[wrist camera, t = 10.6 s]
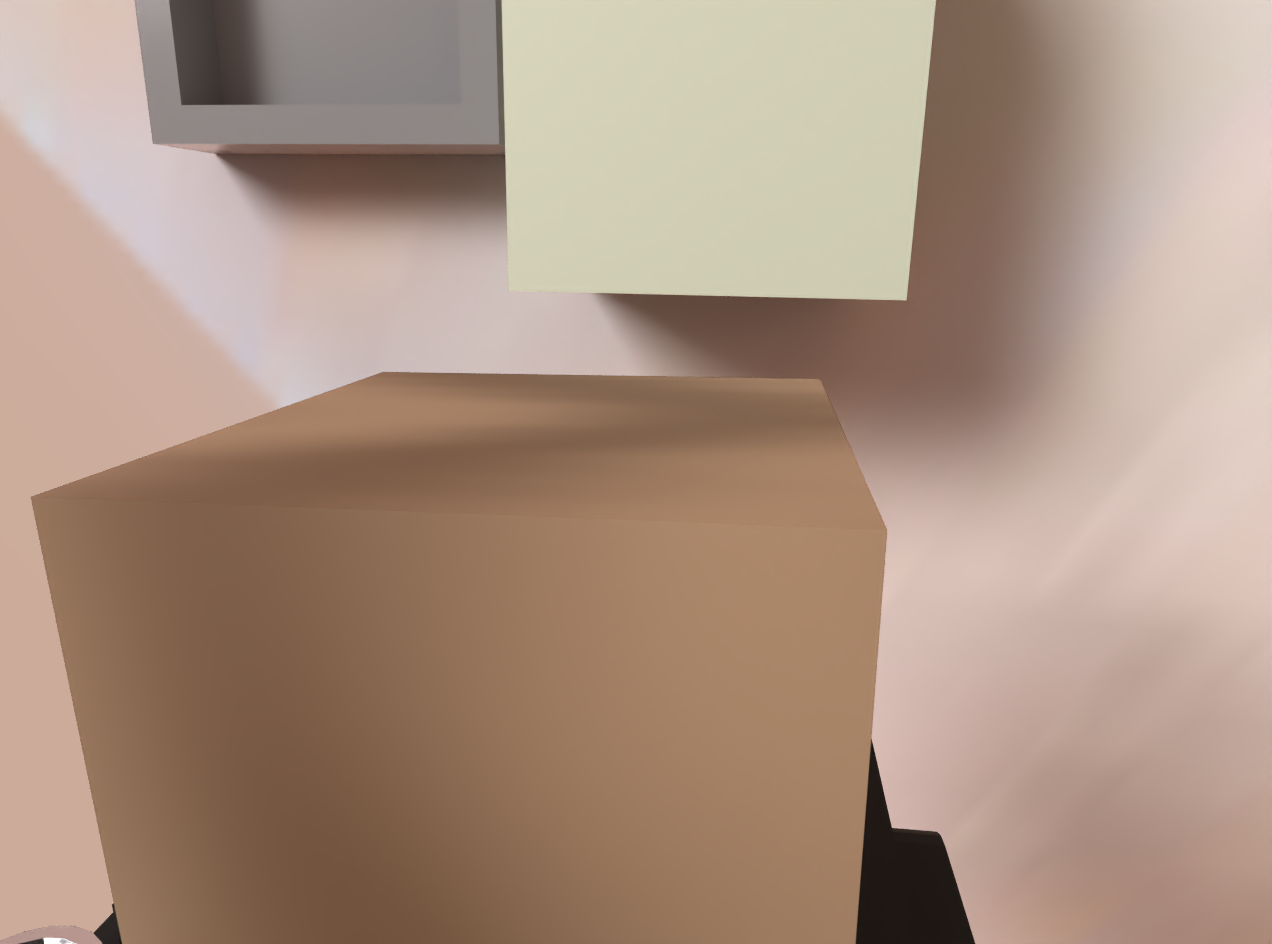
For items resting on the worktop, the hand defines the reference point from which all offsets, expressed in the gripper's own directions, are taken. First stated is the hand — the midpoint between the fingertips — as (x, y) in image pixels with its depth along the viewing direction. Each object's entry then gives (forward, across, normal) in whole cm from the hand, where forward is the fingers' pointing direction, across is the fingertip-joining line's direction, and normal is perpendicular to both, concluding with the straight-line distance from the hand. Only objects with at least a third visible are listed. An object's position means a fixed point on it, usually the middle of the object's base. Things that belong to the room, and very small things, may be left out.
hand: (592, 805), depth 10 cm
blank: (+1, 0, 0) cm, 1 cm away
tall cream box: (+17, -1, -12) cm, 21 cm away
